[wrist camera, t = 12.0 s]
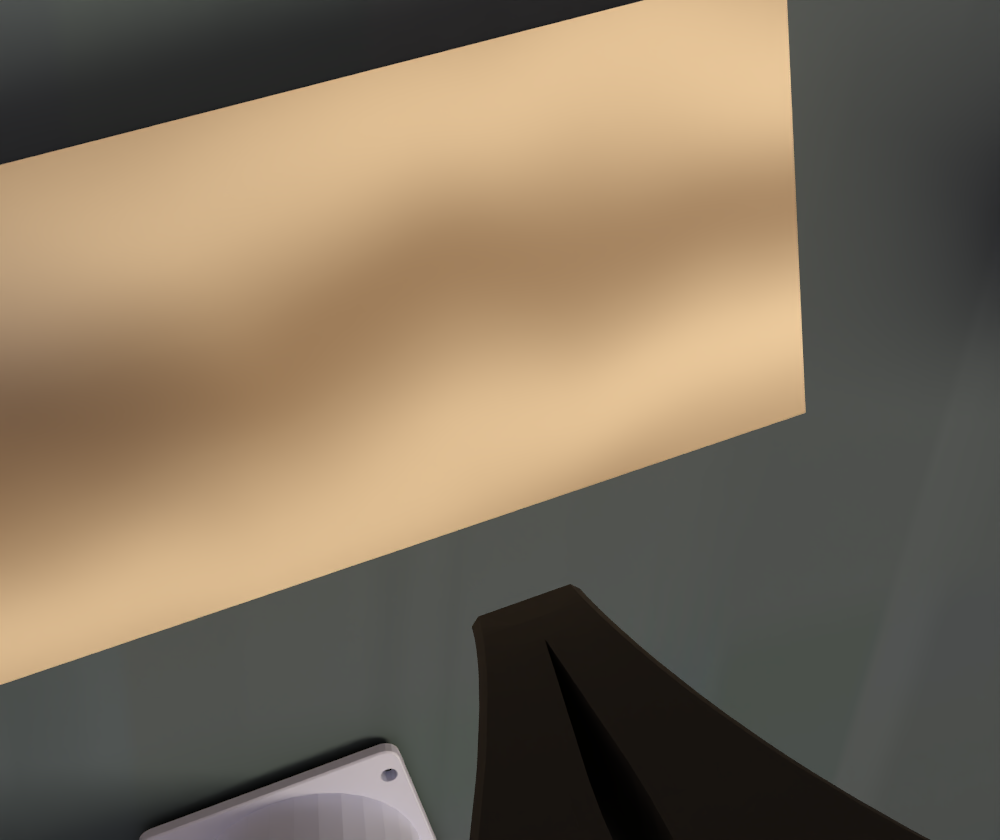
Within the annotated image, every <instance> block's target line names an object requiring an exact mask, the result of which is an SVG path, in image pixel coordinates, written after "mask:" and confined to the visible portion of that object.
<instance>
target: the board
mask: <svg viewBox="0 0 1000 840" xmlns="http://www.w3.org/2000/svg"><path fill="white" fill-rule="evenodd" d="M803 413H806V412H805V390H804V368H803V346H802V324H801V302H800V280H799V258H798V236H797V213H796V191H795V169H794V147H793V125H792V103H791V81H790V59H789V36H788V14H787V0H643V1H639V2H635V3H631V4H627V5H623V6H620V7H616V8H612V9H608V10H604V11H600V12H596V13H592V14H588V15H584V16H580V17H577V18H573V19H569V20H565V21H561V22H557V23H553V24H549V25H545V26H541V27H537V28H534V29H530V30H526V31H522V32H518V33H514V34H510V35H506V36H502V37H498V38H494V39H491V40H487V41H483V42H479V43H475V44H471V45H467V46H463V47H459V48H455V49H451V50H448V51H444V52H440V53H436V54H432V55H428V56H424V57H420V58H416V59H412V60H408V61H405V62H401V63H397V64H393V65H389V66H385V67H381V68H377V69H373V70H369V71H365V72H362V73H358V74H354V75H350V76H346V77H342V78H338V79H334V80H330V81H326V82H322V83H319V84H315V85H311V86H307V87H303V88H299V89H295V90H291V91H287V92H283V93H279V94H276V95H272V96H268V97H264V98H260V99H256V100H252V101H248V102H244V103H240V104H236V105H233V106H229V107H225V108H221V109H217V110H213V111H209V112H205V113H201V114H197V115H193V116H190V117H186V118H182V119H178V120H174V121H170V122H166V123H162V124H158V125H154V126H150V127H147V128H143V129H139V130H135V131H131V132H127V133H123V134H119V135H115V136H111V137H107V138H104V139H100V140H96V141H92V142H88V143H84V144H80V145H76V146H72V147H68V148H64V149H61V150H57V151H53V152H49V153H45V154H41V155H37V156H33V157H29V158H25V159H21V160H18V161H14V162H10V163H6V164H2V165H0V685H1V684H4V683H7V682H10V681H13V680H16V679H19V678H22V677H25V676H28V675H31V674H34V673H37V672H40V671H43V670H46V669H48V668H51V667H54V666H57V665H60V664H63V663H66V662H69V661H72V660H75V659H78V658H81V657H84V656H87V655H90V654H93V653H96V652H99V651H102V650H105V649H108V648H111V647H114V646H117V645H120V644H122V643H125V642H128V641H131V640H134V639H137V638H140V637H143V636H146V635H149V634H152V633H155V632H158V631H161V630H164V629H167V628H170V627H173V626H176V625H179V624H182V623H185V622H188V621H191V620H193V619H196V618H199V617H202V616H205V615H208V614H211V613H214V612H217V611H220V610H223V609H226V608H229V607H232V606H235V605H238V604H241V603H244V602H247V601H250V600H253V599H256V598H259V597H262V596H264V595H267V594H270V593H273V592H276V591H279V590H282V589H285V588H288V587H291V586H294V585H297V584H300V583H303V582H306V581H309V580H312V579H315V578H318V577H321V576H324V575H327V574H330V573H333V572H335V571H338V570H341V569H344V568H347V567H350V566H353V565H356V564H359V563H362V562H365V561H368V560H371V559H374V558H377V557H380V556H383V555H386V554H389V553H392V552H395V551H398V550H401V549H404V548H406V547H409V546H412V545H415V544H418V543H421V542H424V541H427V540H430V539H433V538H436V537H439V536H442V535H445V534H448V533H451V532H454V531H457V530H460V529H463V528H466V527H469V526H472V525H475V524H477V523H480V522H483V521H486V520H489V519H492V518H495V517H498V516H501V515H504V514H507V513H510V512H513V511H516V510H519V509H522V508H525V507H528V506H531V505H534V504H537V503H540V502H543V501H546V500H549V499H551V498H554V497H557V496H560V495H563V494H566V493H569V492H572V491H575V490H578V489H581V488H584V487H587V486H590V485H593V484H596V483H599V482H602V481H605V480H608V479H611V478H614V477H617V476H620V475H622V474H625V473H628V472H631V471H634V470H637V469H640V468H643V467H646V466H649V465H652V464H655V463H658V462H661V461H664V460H667V459H670V458H673V457H676V456H679V455H682V454H685V453H688V452H691V451H693V450H696V449H699V448H702V447H705V446H708V445H711V444H714V443H717V442H720V441H723V440H726V439H729V438H732V437H735V436H738V435H741V434H744V433H747V432H750V431H753V430H756V429H759V428H762V427H764V426H767V425H770V424H773V423H776V422H779V421H782V420H785V419H788V418H791V417H794V416H797V415H800V414H803Z"/></svg>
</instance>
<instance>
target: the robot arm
mask: <svg viewBox="0 0 1000 840" xmlns="http://www.w3.org/2000/svg"><path fill="white" fill-rule="evenodd" d="M472 629H473V633H474V637H475V642H476V649H477V657H478V670H479V733H478V758H477V773H476V784H475V794H474V803H473V813H472V822H471V831H470V840H930V839H928V838H926V837H924V836H922V835H920V834H918V833H916V832H914V831H913V830H911V829H909V828H907V827H905V826H904V825H902V824H900V823H898V822H897V821H895V820H893V819H891V818H890V817H888V816H886V815H884V814H883V813H881V812H879V811H877V810H876V809H874V808H872V807H870V806H869V805H867V804H865V803H863V802H862V801H860V800H858V799H856V798H855V797H853V796H851V795H850V794H848V793H846V792H845V791H843V790H841V789H840V788H838V787H836V786H835V785H833V784H831V783H830V782H828V781H827V780H825V779H823V778H822V777H820V776H818V775H817V774H815V773H813V772H812V771H810V770H809V769H807V768H805V767H804V766H802V765H801V764H799V763H798V762H796V761H795V760H793V759H791V758H790V757H788V756H787V755H785V754H784V753H782V752H781V751H779V750H778V749H776V748H775V747H773V746H772V745H770V744H769V743H767V742H766V741H764V740H763V739H761V738H760V737H758V736H757V735H756V734H754V733H753V732H751V731H750V730H748V729H747V728H746V727H744V726H743V725H741V724H740V723H739V722H737V721H736V720H734V719H733V718H731V717H730V716H729V715H727V714H726V713H724V712H723V711H722V710H720V709H719V708H718V707H716V706H715V705H714V704H712V703H711V702H710V701H708V700H707V699H705V698H704V697H703V696H701V695H700V694H699V693H698V692H696V691H695V690H694V689H692V688H691V687H690V686H689V685H687V684H686V683H685V682H684V681H682V680H681V679H680V678H679V677H677V676H676V675H675V674H673V673H672V672H671V671H670V670H668V669H667V668H666V667H665V666H663V665H662V664H661V663H660V662H658V661H657V660H656V659H655V658H654V657H652V656H651V655H650V654H649V653H648V652H646V651H645V650H644V649H643V648H642V647H641V646H639V645H638V644H637V643H636V642H635V641H634V640H633V639H631V638H630V637H629V636H628V635H627V634H626V633H625V632H623V631H622V630H621V629H620V628H619V627H618V626H617V625H616V624H615V623H614V622H613V621H611V620H610V619H609V618H608V617H607V616H606V615H605V614H604V613H603V612H602V611H601V610H600V609H599V608H598V607H597V606H596V605H595V604H594V603H593V602H592V601H591V600H590V599H589V598H588V597H587V596H586V595H585V594H584V593H583V592H582V591H581V589H579V588H577V587H575V586H573V585H571V584H569V585H566V586H564V587H561V588H558V589H555V590H552V591H549V592H547V593H544V594H541V595H538V596H535V597H533V598H530V599H527V600H524V601H521V602H518V603H516V604H513V605H510V606H507V607H504V608H501V609H499V610H496V611H493V612H490V613H487V614H485V615H482V616H479V617H478V618H477V620H476V621H475V623H474V624H473V626H472ZM387 769H392V770H390V771H385V770H387ZM139 840H436V837H435V835H434V832H433V830H432V828H431V825H430V823H429V821H428V818H427V816H426V813H425V811H424V809H423V806H422V804H421V802H420V799H419V797H418V794H417V792H416V790H415V787H414V785H413V783H412V780H411V778H410V775H409V773H408V771H407V768H406V766H405V764H404V761H403V759H402V756H401V754H400V752H399V749H398V748H397V747H396V746H395V745H393V744H388V743H383V744H379V745H376V746H373V747H370V748H368V749H365V750H362V751H360V752H357V753H354V754H352V755H349V756H346V757H343V758H341V759H338V760H335V761H333V762H330V763H327V764H324V765H322V766H319V767H316V768H314V769H311V770H308V771H306V772H303V773H300V774H297V775H295V776H292V777H289V778H287V779H284V780H281V781H278V782H276V783H273V784H270V785H268V786H265V787H262V788H259V789H257V790H254V791H251V792H249V793H246V794H243V795H241V796H238V797H235V798H232V799H230V800H227V801H224V802H222V803H219V804H216V805H213V806H211V807H208V808H205V809H203V810H200V811H197V812H195V813H192V814H189V815H186V816H184V817H181V818H178V819H176V820H173V821H170V822H167V823H165V824H162V825H159V826H157V827H154V828H151V829H149V830H147V831H145V832H144V833H143V834H142V835H141V836H140V838H139Z"/></svg>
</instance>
